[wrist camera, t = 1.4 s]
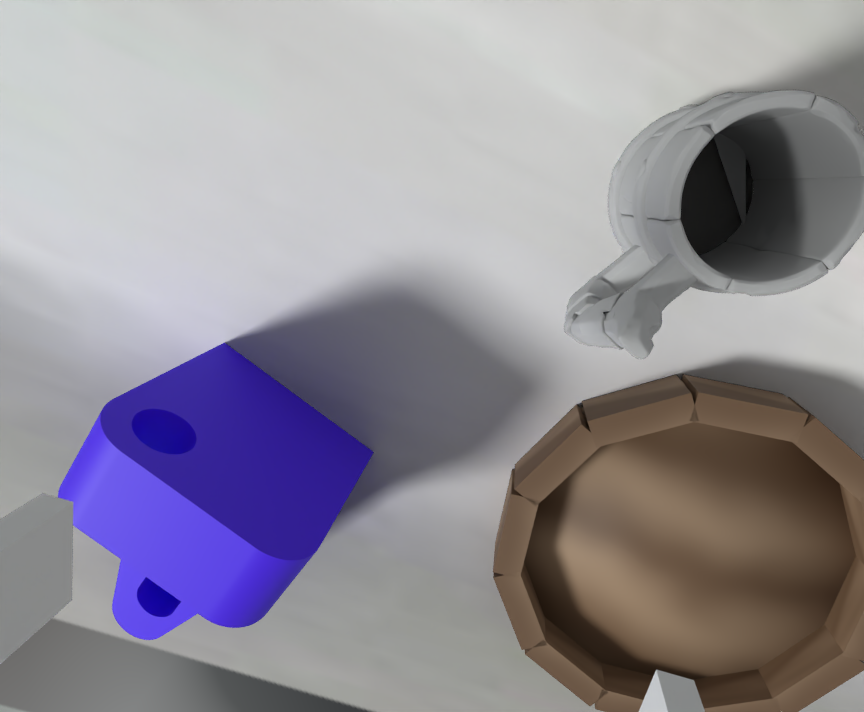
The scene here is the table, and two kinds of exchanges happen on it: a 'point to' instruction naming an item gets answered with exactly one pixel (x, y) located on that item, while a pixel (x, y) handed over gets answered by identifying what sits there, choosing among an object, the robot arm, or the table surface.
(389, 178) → the table surface
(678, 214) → the mug
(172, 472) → the bracket
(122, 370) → the table surface
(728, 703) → the tray
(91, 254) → the table surface
